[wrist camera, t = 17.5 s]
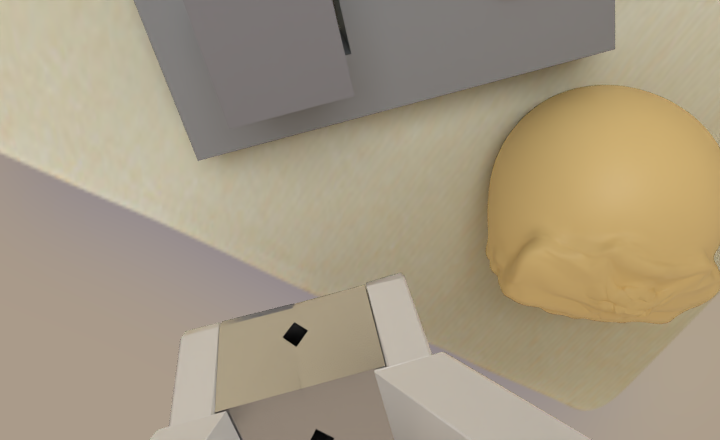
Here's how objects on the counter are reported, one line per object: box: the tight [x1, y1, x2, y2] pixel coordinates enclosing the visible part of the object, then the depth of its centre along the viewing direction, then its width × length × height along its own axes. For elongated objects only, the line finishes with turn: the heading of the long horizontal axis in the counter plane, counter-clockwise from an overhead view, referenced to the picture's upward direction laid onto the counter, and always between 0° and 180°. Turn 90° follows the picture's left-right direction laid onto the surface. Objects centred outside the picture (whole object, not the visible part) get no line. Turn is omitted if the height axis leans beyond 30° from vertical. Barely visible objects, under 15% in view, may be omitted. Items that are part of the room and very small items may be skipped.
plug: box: [183, 0, 355, 129], centre depth 25 cm, size 4×4×11 cm
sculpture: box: [486, 85, 720, 324], centre depth 33 cm, size 11×12×11 cm
